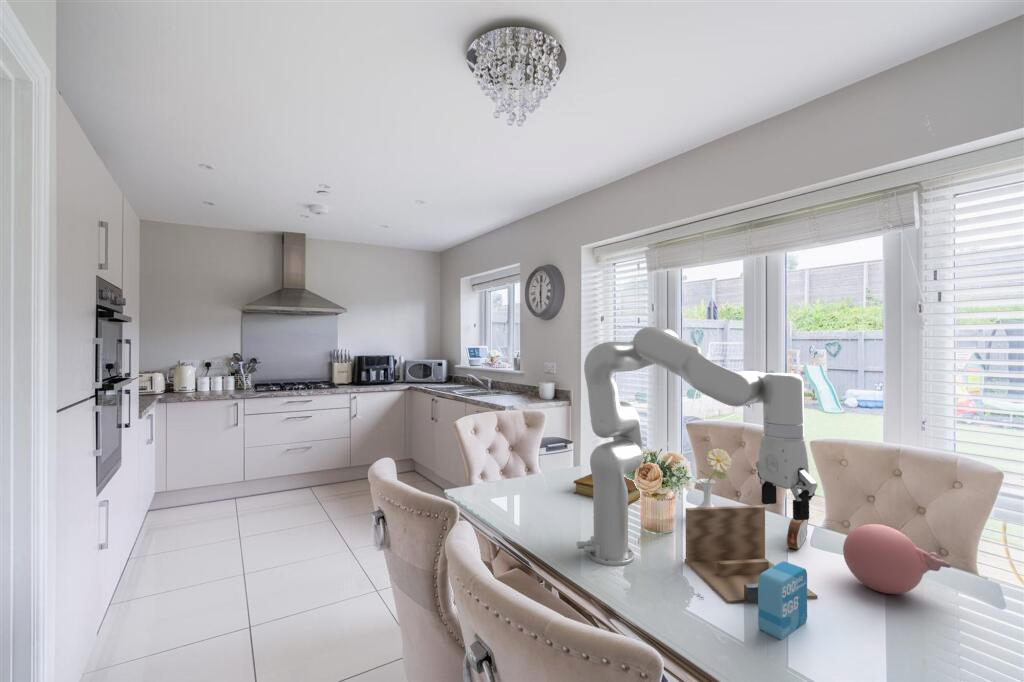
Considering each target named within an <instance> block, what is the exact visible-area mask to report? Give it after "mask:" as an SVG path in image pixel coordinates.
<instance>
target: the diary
mask: <svg viewBox="0 0 1024 682" xmlns="http://www.w3.org/2000/svg"><path fill="white" fill-rule="evenodd" d="M626 477H627V476H624V480H625V483H626V486H627V490H628V506H630V505H632V504H634V503H637V501H639V500H640V499H639V498H640V491H639V489H637V488H636V486H635V484H634V482H633V481H632V480H629V479H627V478H628V477H627V478H626ZM573 484H575V491H574V492H573V494H576V495H579V496H583V497H587V498H591V499H593V478H592V473H590V474H588V475H585V476H583V477H580V478H577V479H575V480H573Z"/></svg>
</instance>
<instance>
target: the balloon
mask: <svg viewBox="0 0 1024 682" xmlns="http://www.w3.org/2000/svg"><path fill="white" fill-rule="evenodd" d="M842 547H843V548H842V552H843V553H842V554H843V559H844V561H845V564H846V566H847V568H848V569H849V571H850V573H851V574H852V575H853V576H854V577H855V578H856V579H857V580H858V581H859V582H860V583H862V584H864V585H865V586H866V587H867V588H869V589H872V590H874V591H877V592H880V593H883V594H889V595H900V594H904V593H905V594H906V593H908V592H910V591H911V590H914V589H915V588H916V587H918V585H919V584H920V583H921V582H922V581H921V580H922V579H923V576H924V575H925V574H926V573H927V572H929V571H933V572H938V571H940V570H941V568H948V569H951V567H952V564H951V563H950V562H947V561H945V560H943V559H942V558H941V557H940V555H939V554H938V553H937V552H935V551H933V552H927V551H925V550H924V549H921V548H918V547H917V546H916V544H915V543H914V542H913V541H912V539H910V538H909V537H908V536H907V535H905V534H904V533H903V532H901V531H900V530H897V529H895V528H893V527H891V526H887V525H884V524H879V523H878V524H877V523H870V524H863V525H860V526H858V527H855V528H853V529H852V530H851V531H850V532H849V533H848V534H847V536H846V537H845V539H844V542H843V546H842Z"/></svg>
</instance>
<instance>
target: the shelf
mask: <svg viewBox="0 0 1024 682" xmlns="http://www.w3.org/2000/svg"><path fill="white" fill-rule="evenodd" d="M684 562H685V564H686V565H688V566H689V568H691V569H692V570H693V571H694V572H695V573H696V574H697V575H698V576H699V577H700V578H701V579H702V580H703V581H705V582H706V584H707V585H708V586H709V587H710V588H711V589H712V590H713V591H715V593H717V594H718V595H719V596H720V597H721V598H722V599H723V600H724V602H726V603H727V604H728V605H730V604H744V603H745V602H749V603H758V600H754V601H748V600H747V599H745V598H744V584H758V579H759V576H760V574H761V573H762V572H764V571H766V570H768V569H769V568H771V567H773V566H775V565H776V564H773V562H771V561H769V560H768V559H767V558H766V507H765V506H764V505H761V504H760V505H759V504H758V505H734V506H733V505H732V506H731V505H730V506H715V507H701V508H696V507H685V558H684ZM705 582H704V583H705ZM815 599H818V595H817V594H816V593H815V592H813V591H812V590H811V589H809V588H808V587H807V600H815Z"/></svg>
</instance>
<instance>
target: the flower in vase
mask: <svg viewBox="0 0 1024 682" xmlns="http://www.w3.org/2000/svg"><path fill="white" fill-rule="evenodd" d="M731 462H732V458H731V457H730V455H729V454H728V451H726V450H723V449H722V448H720V449H719V448H718V447H716V448H714V449H711V450H709V451H708V452H707V456H706V463H707V464H708V466H709V467H710V470H711V469H712V470H713V473H712V475H711V476H710V475H709V473H705V472H703V471H702V470H699V472H700V473H701V474H702V475H705V476H707V477H709V478H701V479H699V482H700V484H701V486H702V491H703V500H702V502H701V504H699V505H697V506H696V507H695V508H701V507H716V506H715V505H714V504H713V503H712V489H713V487H714V485H715V484H716V481H715V480H714V479H712V478H713V476H716V477H717V478H718V479H725V478H728V477H729V475H728V474H727V473H726V472H725V471H728V470H730V469H731V465H732V463H731Z"/></svg>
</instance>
